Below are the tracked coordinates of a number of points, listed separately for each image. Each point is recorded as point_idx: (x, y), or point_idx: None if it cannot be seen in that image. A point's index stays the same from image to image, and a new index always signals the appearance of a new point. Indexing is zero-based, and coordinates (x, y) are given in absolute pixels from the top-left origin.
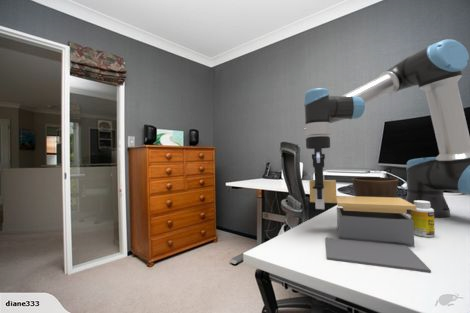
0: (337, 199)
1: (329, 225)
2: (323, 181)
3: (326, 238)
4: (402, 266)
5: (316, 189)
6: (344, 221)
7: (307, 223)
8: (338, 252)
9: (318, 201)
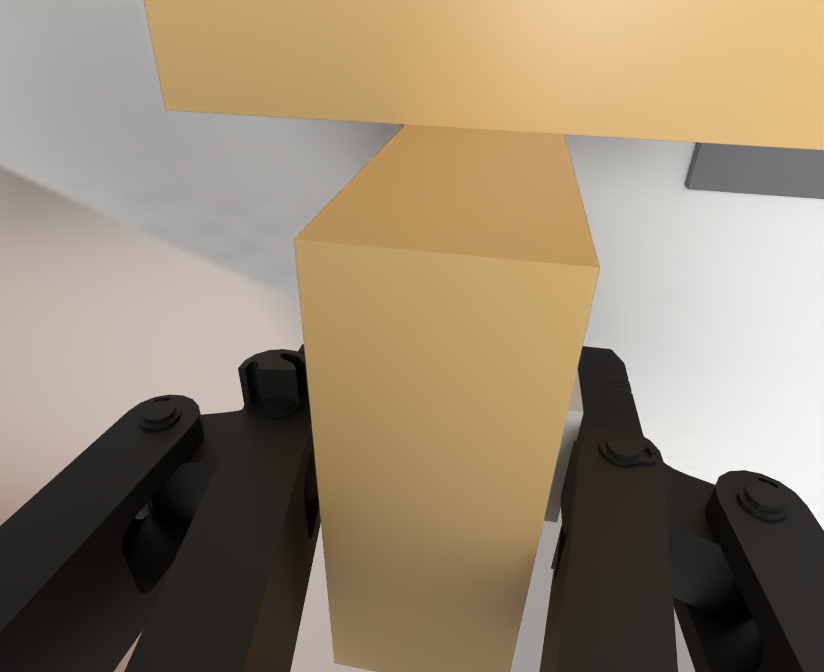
0: (520, 113)
1: None
2: (543, 516)
3: (709, 184)
4: None
5: (560, 495)
6: None
7: (297, 286)
8: None
9: None
